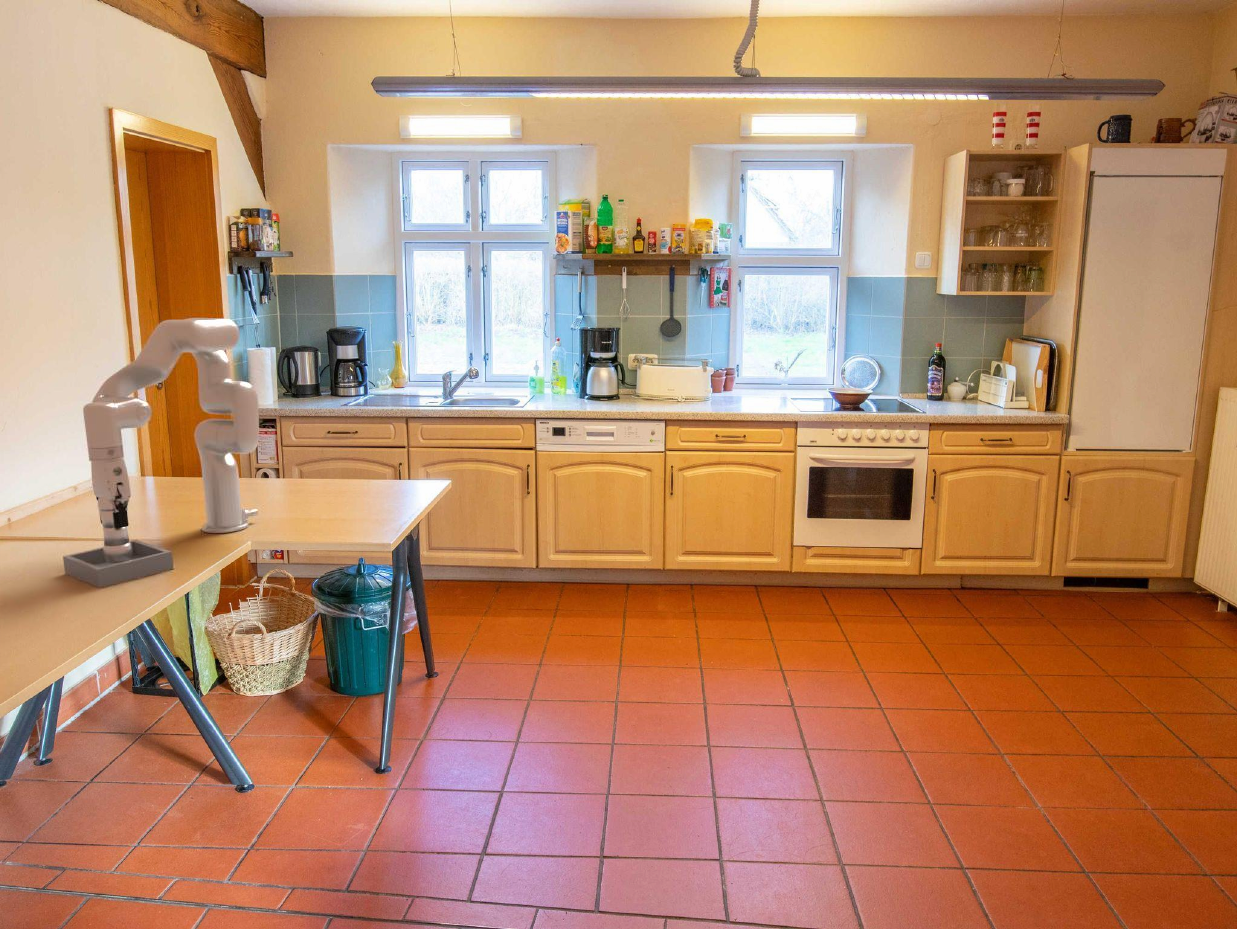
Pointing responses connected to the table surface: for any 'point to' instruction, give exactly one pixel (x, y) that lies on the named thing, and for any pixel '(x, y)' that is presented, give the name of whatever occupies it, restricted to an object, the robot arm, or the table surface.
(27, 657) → the table surface
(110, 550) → the plastic bottle
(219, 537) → the table surface
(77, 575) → the bin
